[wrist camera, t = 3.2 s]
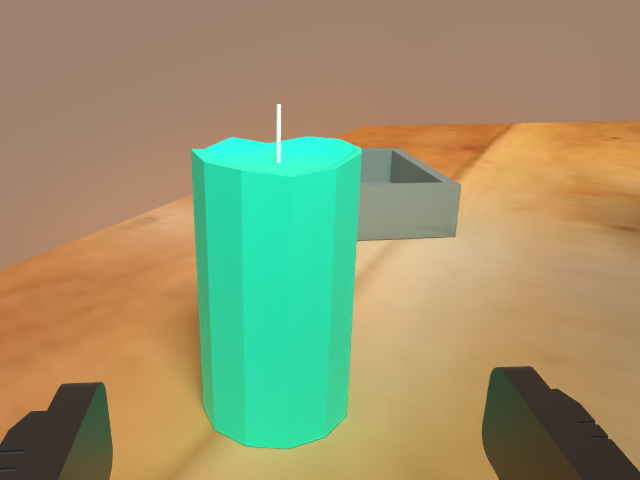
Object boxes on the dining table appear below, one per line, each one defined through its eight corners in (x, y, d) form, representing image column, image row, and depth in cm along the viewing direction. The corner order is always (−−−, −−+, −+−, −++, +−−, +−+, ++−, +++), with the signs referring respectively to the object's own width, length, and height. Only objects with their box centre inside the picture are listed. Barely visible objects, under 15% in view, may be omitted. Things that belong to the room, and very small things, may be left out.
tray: (395, 188, 56) (399, 148, 55) (455, 236, 43) (461, 185, 42) (253, 191, 53) (253, 149, 52) (271, 244, 40) (272, 189, 39)
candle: (364, 376, 25) (383, 101, 21) (323, 466, 20) (337, 123, 16) (242, 350, 27) (238, 91, 23) (174, 427, 22) (152, 107, 18)
